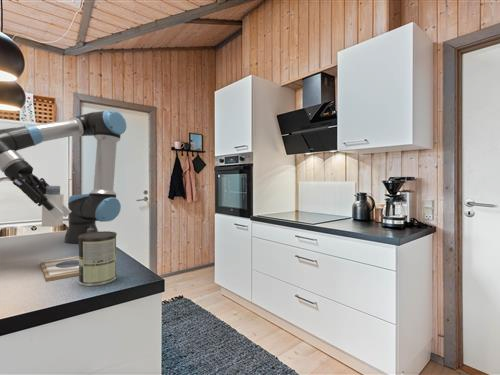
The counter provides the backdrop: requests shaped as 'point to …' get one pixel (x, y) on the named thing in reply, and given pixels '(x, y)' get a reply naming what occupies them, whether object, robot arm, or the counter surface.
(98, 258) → the coffee can
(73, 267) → the picture frame
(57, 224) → the dome-capped white pillar
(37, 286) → the counter surface
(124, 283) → the counter surface
